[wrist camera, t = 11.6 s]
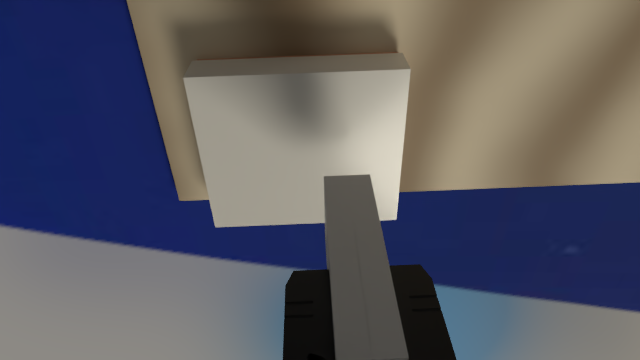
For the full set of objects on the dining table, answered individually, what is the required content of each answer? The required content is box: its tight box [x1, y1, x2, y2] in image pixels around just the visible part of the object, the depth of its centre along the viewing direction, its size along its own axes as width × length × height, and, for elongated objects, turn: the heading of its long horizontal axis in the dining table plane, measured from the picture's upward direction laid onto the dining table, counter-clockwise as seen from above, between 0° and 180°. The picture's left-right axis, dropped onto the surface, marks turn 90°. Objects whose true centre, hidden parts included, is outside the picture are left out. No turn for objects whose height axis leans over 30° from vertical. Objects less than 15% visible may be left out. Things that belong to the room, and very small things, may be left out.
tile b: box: [183, 52, 411, 227], centre depth 19 cm, size 2×7×8 cm
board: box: [127, 0, 640, 201], centre depth 17 cm, size 24×17×1 cm
